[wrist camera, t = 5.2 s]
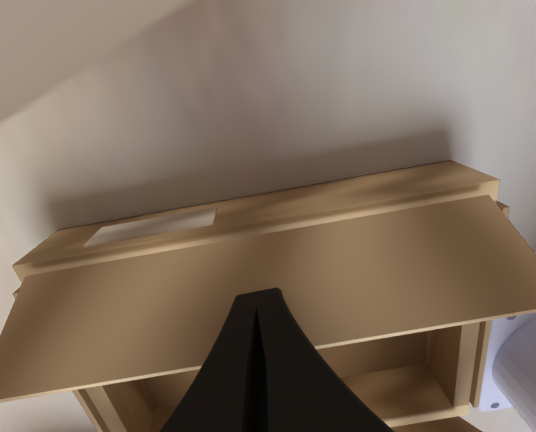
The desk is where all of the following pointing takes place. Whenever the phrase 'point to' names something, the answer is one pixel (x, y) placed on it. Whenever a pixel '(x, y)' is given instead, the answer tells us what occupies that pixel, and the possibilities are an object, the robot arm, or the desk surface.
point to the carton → (337, 357)
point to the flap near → (261, 278)
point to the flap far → (438, 426)
